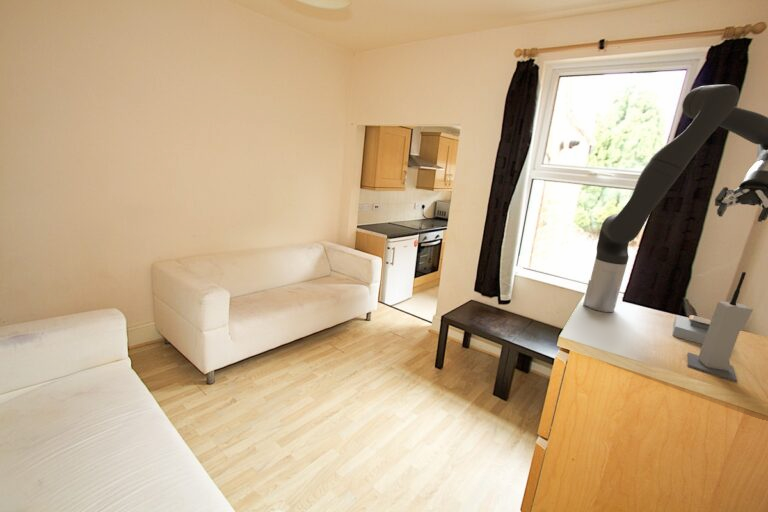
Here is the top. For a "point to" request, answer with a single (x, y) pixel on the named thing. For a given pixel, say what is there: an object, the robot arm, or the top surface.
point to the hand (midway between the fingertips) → (739, 217)
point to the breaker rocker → (700, 319)
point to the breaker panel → (690, 329)
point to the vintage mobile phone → (724, 332)
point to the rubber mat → (696, 364)
